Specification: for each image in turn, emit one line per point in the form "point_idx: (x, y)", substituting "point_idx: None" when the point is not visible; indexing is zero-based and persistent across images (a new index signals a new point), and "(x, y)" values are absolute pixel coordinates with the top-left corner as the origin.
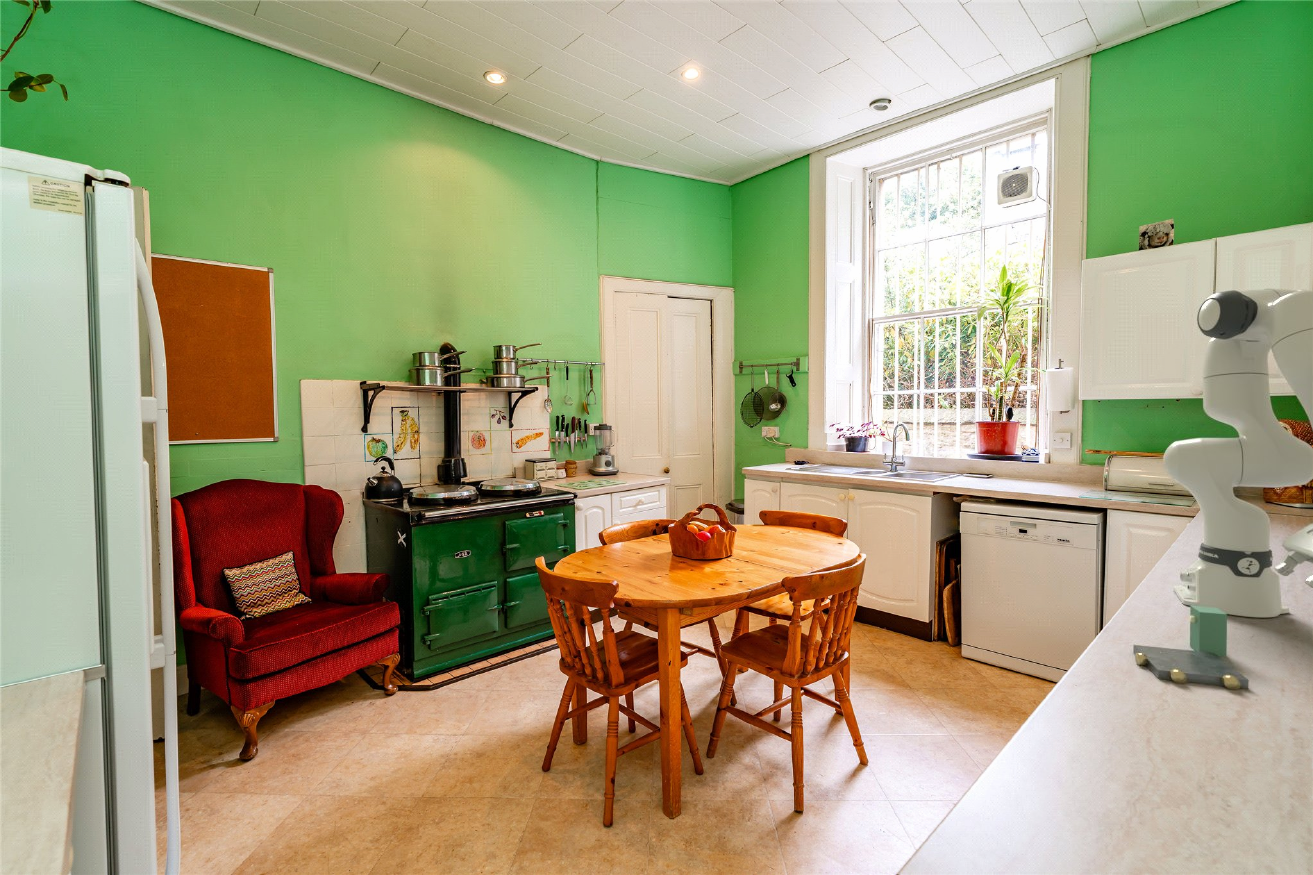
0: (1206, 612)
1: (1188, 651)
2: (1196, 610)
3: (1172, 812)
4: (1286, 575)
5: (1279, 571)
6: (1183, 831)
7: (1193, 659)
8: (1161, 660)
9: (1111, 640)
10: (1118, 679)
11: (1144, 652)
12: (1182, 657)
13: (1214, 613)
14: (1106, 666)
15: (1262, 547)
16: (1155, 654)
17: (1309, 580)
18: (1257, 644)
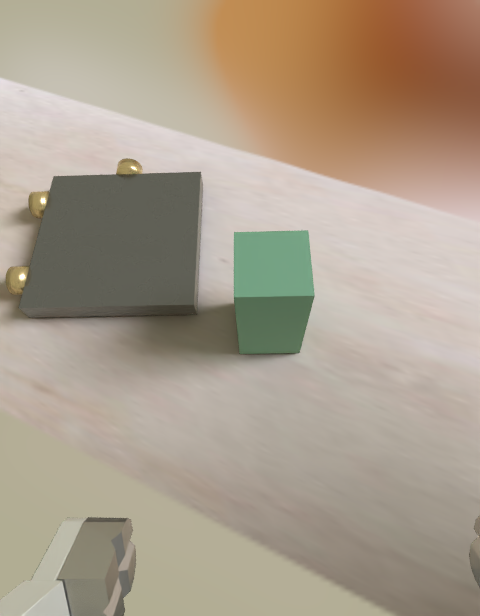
0: (235, 248)
1: (187, 256)
2: (260, 233)
3: None
4: (472, 570)
5: (477, 523)
6: None
7: (132, 249)
8: (110, 193)
9: (281, 170)
10: (55, 141)
11: (155, 179)
12: (139, 233)
13: (234, 266)
14: (116, 137)
15: None
16: (147, 193)
17: (84, 528)
18: (411, 492)
